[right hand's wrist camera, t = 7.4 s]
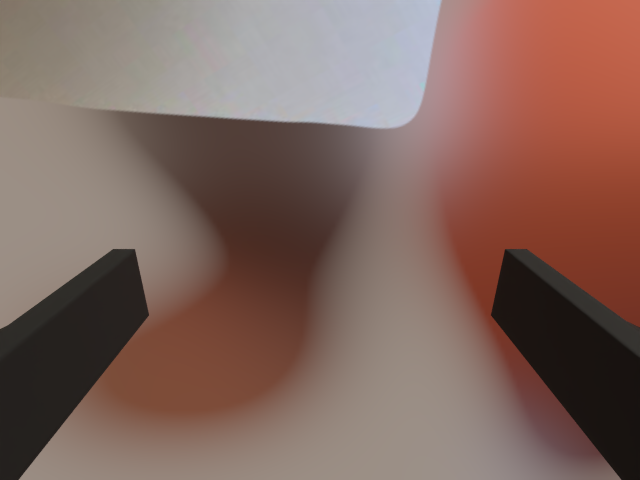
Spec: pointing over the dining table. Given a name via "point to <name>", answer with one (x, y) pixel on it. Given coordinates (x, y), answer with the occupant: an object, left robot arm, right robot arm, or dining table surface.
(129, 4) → the dining table surface
